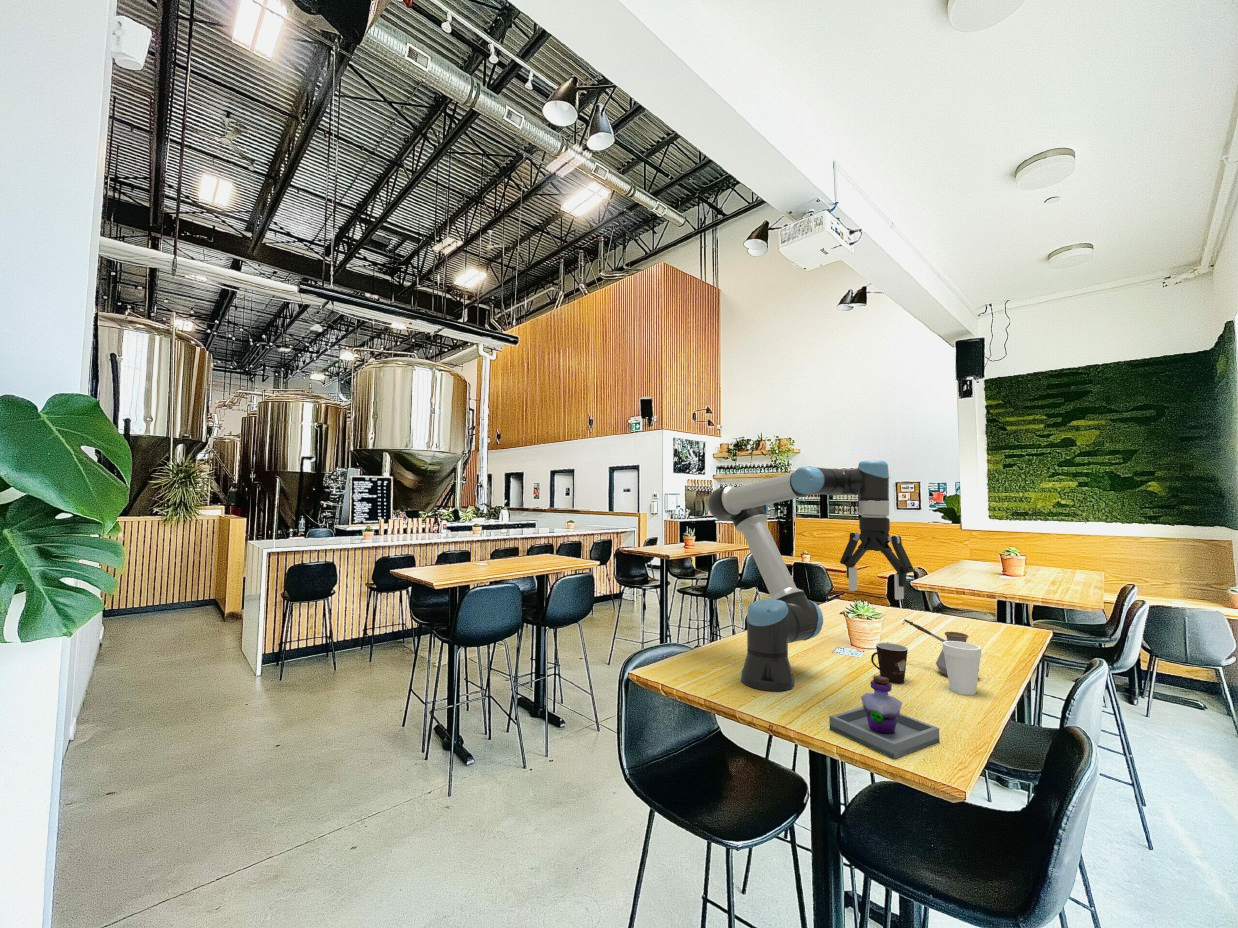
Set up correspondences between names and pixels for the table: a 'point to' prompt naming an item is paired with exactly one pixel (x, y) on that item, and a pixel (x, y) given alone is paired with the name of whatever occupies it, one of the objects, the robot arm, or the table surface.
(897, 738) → the tray
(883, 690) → the potion bottle
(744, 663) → the robot arm
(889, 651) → the coffee mug
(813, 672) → the table surface
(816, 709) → the table surface
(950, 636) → the coffee pot
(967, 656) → the foam cup
